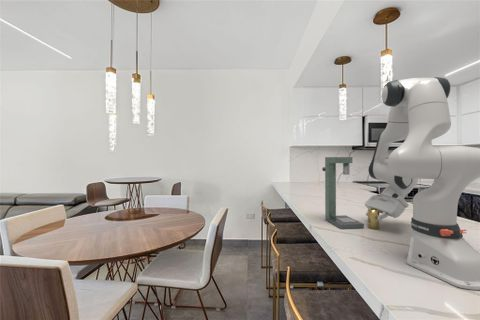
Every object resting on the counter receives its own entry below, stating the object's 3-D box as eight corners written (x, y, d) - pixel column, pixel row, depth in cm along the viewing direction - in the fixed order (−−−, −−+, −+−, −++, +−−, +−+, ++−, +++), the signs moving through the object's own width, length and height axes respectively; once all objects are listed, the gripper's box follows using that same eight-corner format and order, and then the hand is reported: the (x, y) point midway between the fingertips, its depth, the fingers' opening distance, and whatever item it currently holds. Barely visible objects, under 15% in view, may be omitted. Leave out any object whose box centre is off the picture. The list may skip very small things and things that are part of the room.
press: (364, 227, 111) (364, 157, 110) (339, 228, 110) (339, 157, 109) (339, 215, 133) (339, 156, 132) (319, 216, 132) (319, 157, 131)
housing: (381, 229, 109) (381, 210, 109) (372, 229, 109) (372, 210, 108) (374, 225, 114) (374, 207, 114) (365, 226, 114) (365, 208, 113)
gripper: (372, 190, 122) (355, 208, 121) (403, 196, 102) (382, 219, 101) (380, 198, 122) (363, 216, 122) (412, 206, 102) (392, 228, 101)
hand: (372, 217), depth 111 cm, fingers open, 6 cm apart
